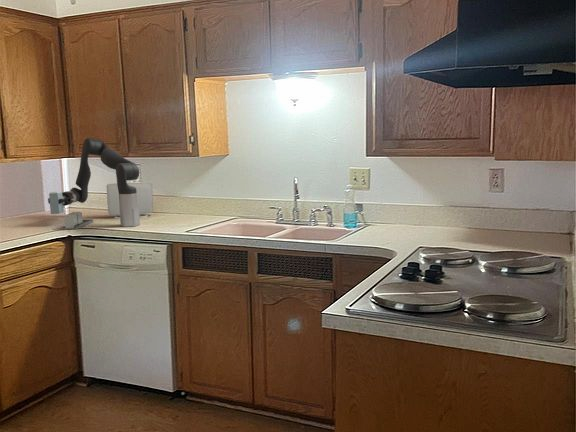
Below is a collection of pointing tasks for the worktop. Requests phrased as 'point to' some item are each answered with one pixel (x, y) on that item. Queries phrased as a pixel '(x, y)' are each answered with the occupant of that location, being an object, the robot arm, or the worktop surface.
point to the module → (56, 202)
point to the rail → (75, 221)
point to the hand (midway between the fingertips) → (54, 201)
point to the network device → (142, 198)
